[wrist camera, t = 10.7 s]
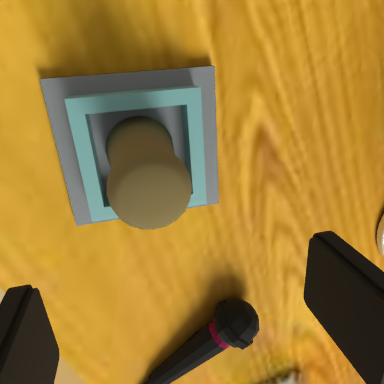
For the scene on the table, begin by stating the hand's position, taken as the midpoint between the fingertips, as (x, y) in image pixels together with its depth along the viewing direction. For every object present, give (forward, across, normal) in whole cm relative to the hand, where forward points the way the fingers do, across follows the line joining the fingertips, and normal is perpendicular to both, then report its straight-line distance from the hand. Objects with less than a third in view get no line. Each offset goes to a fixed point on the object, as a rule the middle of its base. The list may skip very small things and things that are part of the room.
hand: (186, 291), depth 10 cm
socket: (+20, 0, 0) cm, 20 cm away
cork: (+19, +1, 0) cm, 19 cm away
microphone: (+20, -2, +26) cm, 33 cm away
